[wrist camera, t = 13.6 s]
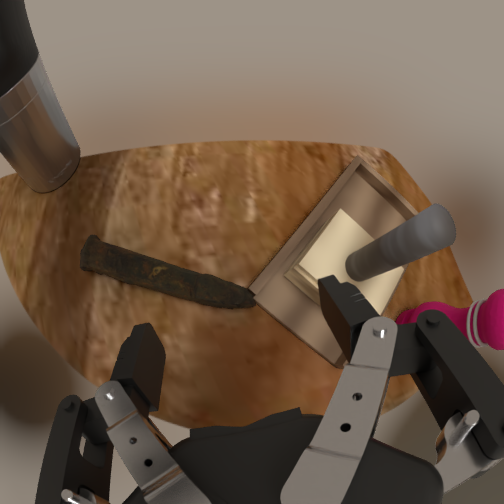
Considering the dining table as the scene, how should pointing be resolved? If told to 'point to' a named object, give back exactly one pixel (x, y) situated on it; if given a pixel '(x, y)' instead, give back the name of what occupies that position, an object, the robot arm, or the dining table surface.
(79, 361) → the dining table surface
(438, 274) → the dining table surface
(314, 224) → the bay
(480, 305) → the pepper mill
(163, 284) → the hand tool
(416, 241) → the joystick
